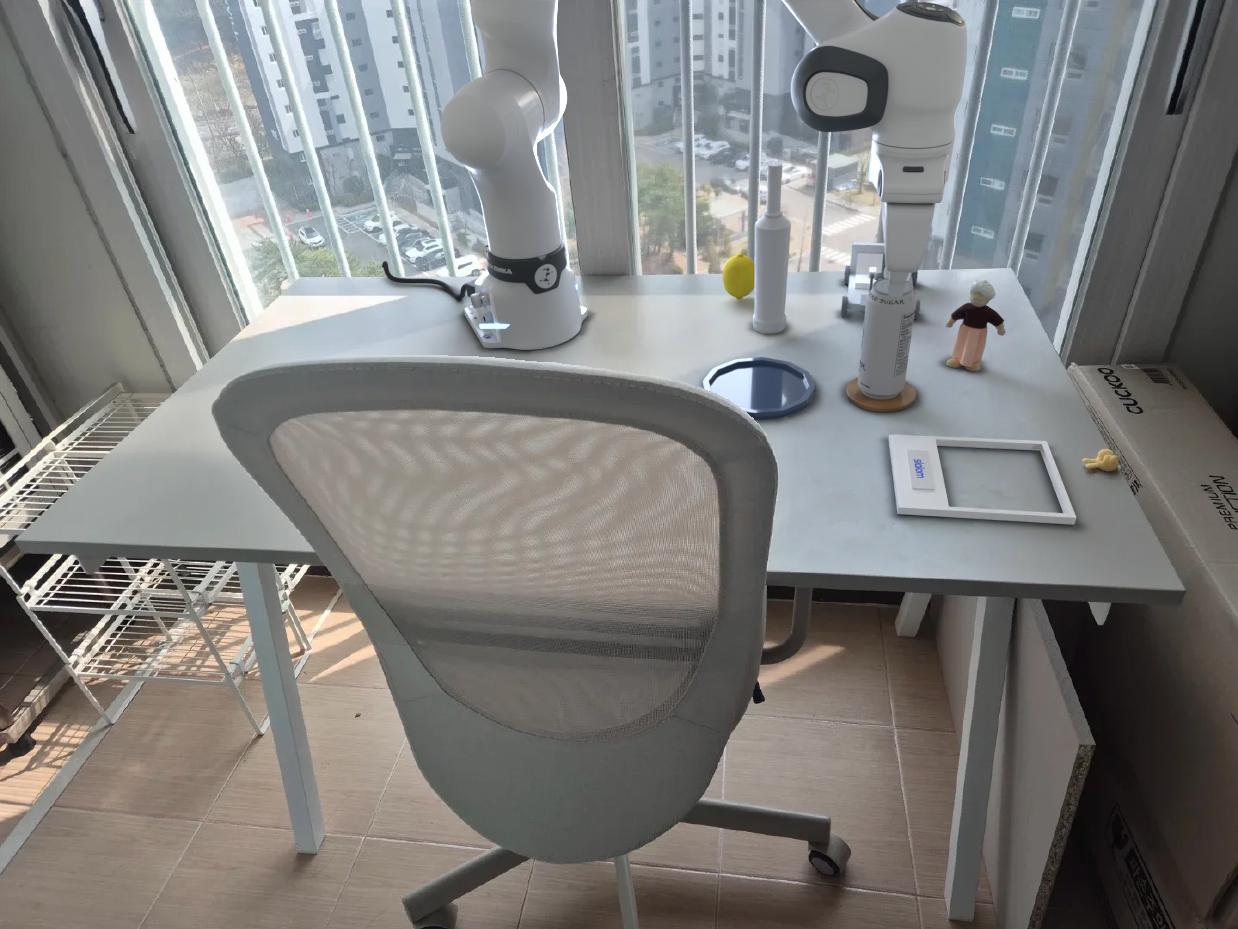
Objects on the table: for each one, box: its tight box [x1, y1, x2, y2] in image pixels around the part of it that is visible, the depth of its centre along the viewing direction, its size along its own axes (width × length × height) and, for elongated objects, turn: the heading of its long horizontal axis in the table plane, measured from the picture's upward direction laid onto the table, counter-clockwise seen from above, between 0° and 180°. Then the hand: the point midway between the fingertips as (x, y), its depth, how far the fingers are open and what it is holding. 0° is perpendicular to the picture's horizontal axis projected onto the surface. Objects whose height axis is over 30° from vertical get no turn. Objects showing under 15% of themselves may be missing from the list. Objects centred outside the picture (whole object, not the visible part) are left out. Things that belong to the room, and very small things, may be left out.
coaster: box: [845, 377, 917, 413], centre depth 115 cm, size 9×9×1 cm
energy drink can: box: [857, 278, 917, 400], centre depth 110 cm, size 6×6×15 cm
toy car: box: [840, 241, 921, 320], centre depth 135 cm, size 18×10×12 cm
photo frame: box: [888, 434, 1077, 526], centre depth 98 cm, size 15×1×18 cm
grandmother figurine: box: [944, 279, 1007, 372], centre depth 116 cm, size 8×4×13 cm, turn 70°
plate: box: [701, 356, 816, 421], centre depth 117 cm, size 15×15×1 cm
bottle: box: [752, 161, 792, 335], centre depth 126 cm, size 5×5×25 cm
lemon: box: [722, 252, 755, 301], centre depth 140 cm, size 6×6×8 cm
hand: (893, 278), depth 105 cm, fingers open, 8 cm apart
